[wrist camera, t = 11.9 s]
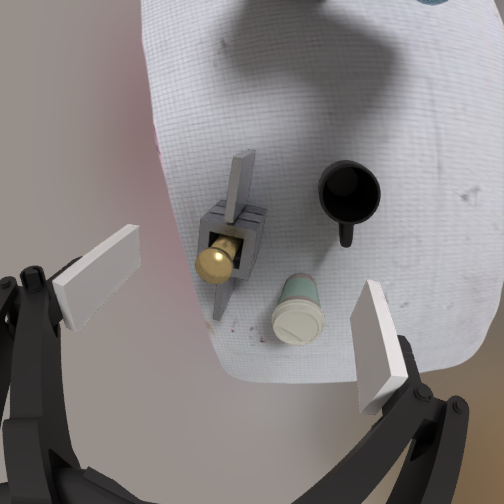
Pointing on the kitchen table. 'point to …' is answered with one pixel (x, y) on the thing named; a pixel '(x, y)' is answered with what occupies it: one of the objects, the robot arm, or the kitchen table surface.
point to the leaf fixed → (249, 234)
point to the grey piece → (239, 195)
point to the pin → (218, 259)
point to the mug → (348, 196)
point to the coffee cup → (298, 312)
